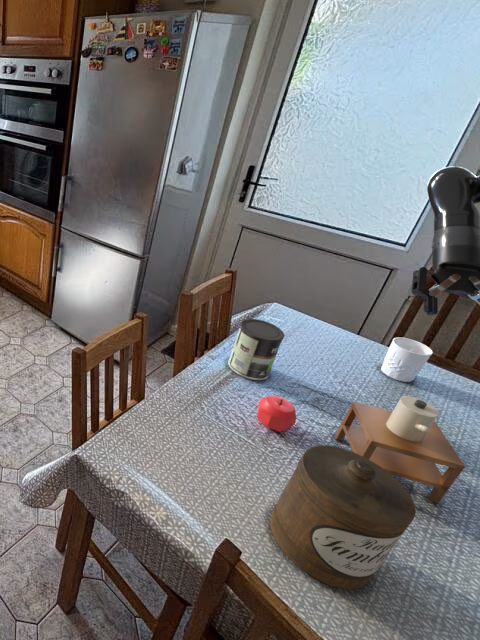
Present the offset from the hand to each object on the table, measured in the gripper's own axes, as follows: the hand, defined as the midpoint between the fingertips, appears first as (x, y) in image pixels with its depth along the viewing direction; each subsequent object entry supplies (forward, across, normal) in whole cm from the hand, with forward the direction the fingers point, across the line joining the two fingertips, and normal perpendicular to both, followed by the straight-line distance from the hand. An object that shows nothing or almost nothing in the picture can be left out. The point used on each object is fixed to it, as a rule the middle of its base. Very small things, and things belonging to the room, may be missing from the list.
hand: (459, 319), depth 87 cm
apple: (+31, -27, +14) cm, 43 cm away
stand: (+33, -7, +11) cm, 36 cm away
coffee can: (+16, -30, +29) cm, 45 cm away
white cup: (+5, +8, +40) cm, 41 cm away
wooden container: (+52, -24, -7) cm, 58 cm away
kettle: (+26, -7, +3) cm, 27 cm away
